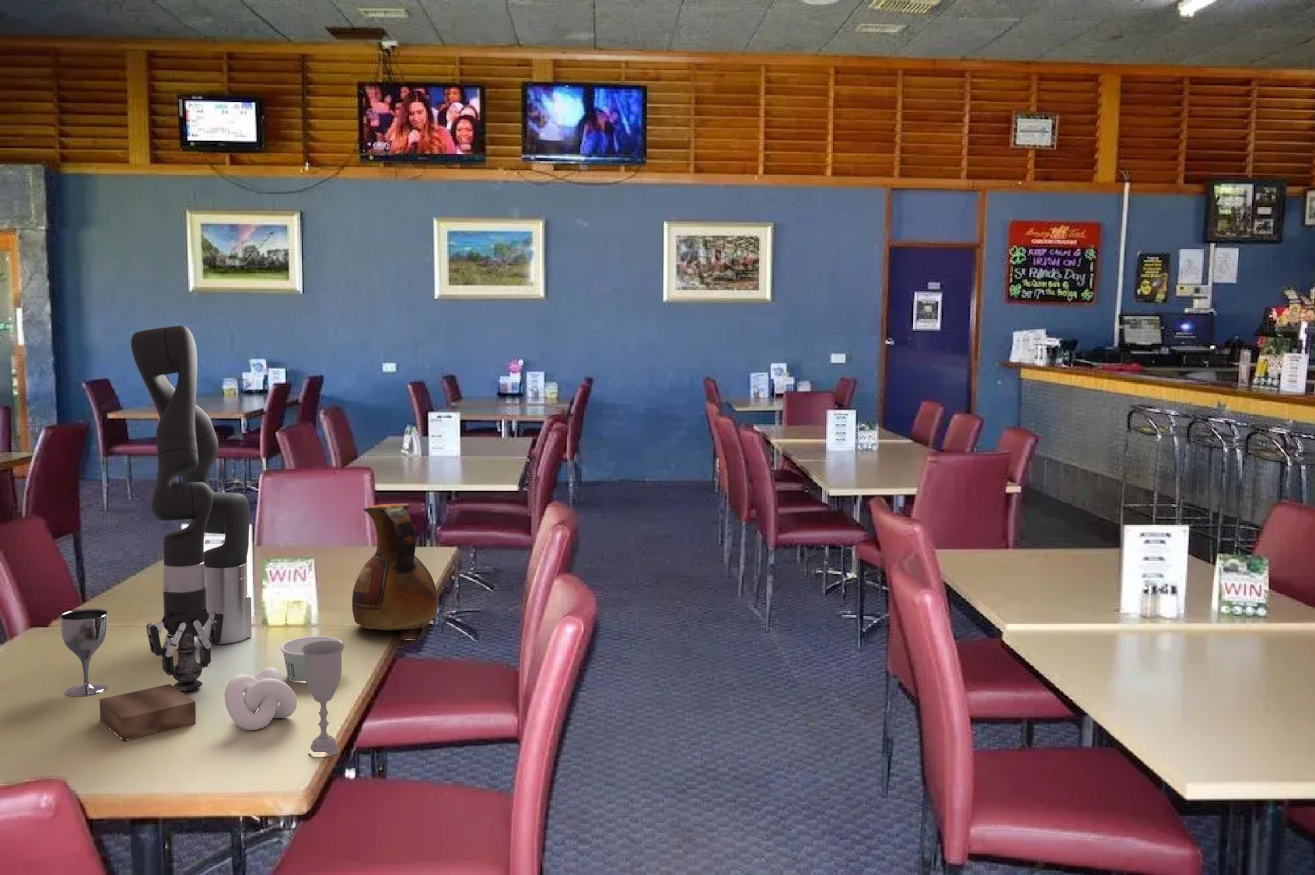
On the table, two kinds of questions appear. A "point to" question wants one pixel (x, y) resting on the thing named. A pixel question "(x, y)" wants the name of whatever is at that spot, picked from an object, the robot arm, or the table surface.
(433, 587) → the ceramic pitcher
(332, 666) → the chalice
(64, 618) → the silver goblet
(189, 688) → the salt shaker
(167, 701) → the walnut base
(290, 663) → the food container
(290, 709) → the white knot sculpture
